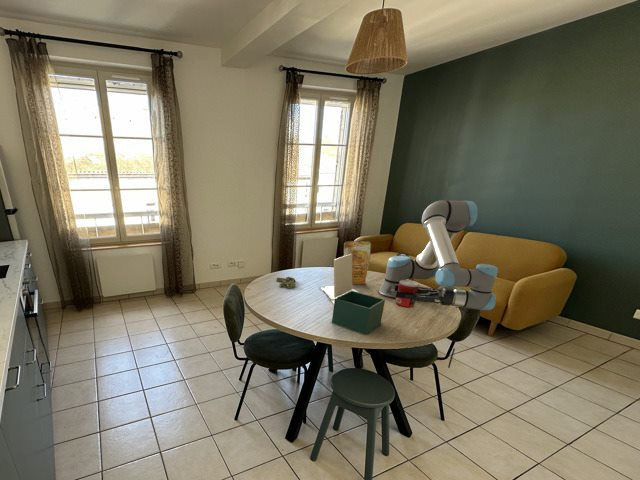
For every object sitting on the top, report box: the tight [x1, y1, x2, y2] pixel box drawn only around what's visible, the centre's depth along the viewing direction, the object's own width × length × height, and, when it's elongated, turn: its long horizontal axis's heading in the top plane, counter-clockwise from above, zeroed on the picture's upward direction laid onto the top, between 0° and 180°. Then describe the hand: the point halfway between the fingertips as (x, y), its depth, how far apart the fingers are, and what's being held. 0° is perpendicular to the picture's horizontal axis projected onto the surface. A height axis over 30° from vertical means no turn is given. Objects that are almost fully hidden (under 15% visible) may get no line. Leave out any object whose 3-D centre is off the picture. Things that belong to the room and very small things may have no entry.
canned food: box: [395, 279, 420, 309], centre depth 150 cm, size 8×8×11 cm
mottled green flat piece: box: [276, 276, 296, 289], centre depth 217 cm, size 18×12×2 cm, turn 2°
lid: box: [333, 254, 353, 298], centre depth 160 cm, size 19×17×1 cm
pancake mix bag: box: [343, 240, 372, 285], centre depth 215 cm, size 7×19×28 cm, turn 93°
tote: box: [331, 291, 386, 335], centre depth 160 cm, size 18×17×13 cm
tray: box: [320, 285, 358, 305], centre depth 198 cm, size 20×28×4 cm
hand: (395, 290), depth 151 cm, fingers closed on canned food, 8 cm apart
